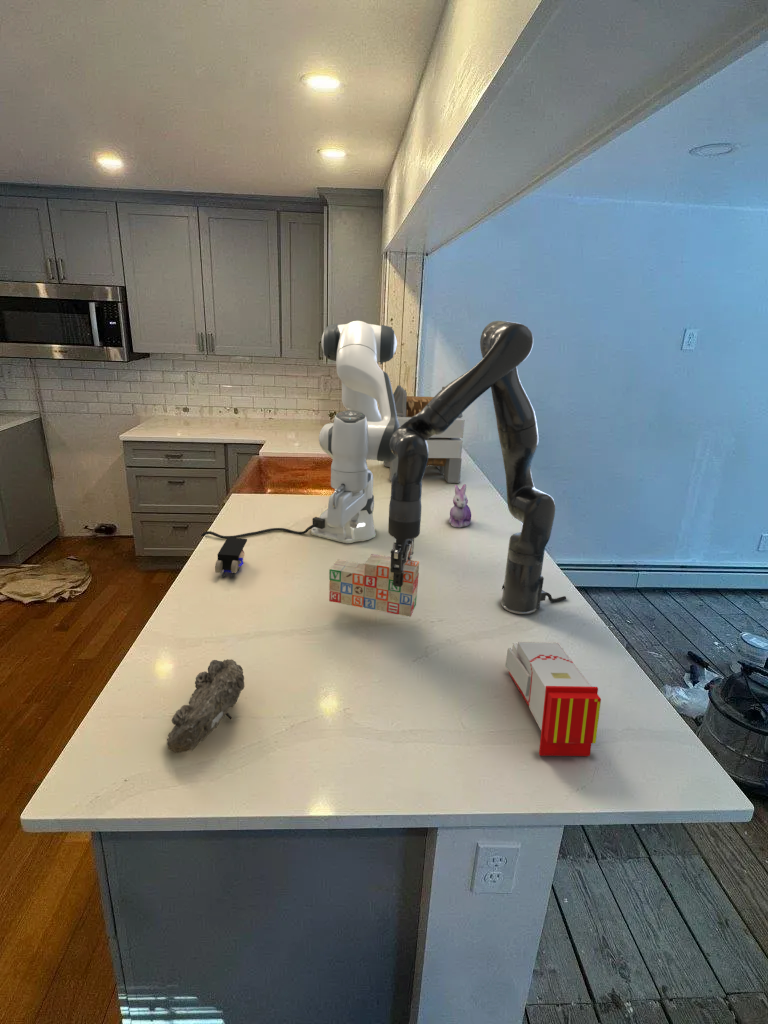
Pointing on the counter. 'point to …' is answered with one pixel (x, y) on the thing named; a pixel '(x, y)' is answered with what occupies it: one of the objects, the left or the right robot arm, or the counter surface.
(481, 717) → the counter surface
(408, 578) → the stack of blocks
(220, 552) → the black wheeled block
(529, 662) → the toy
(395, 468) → the grey storage crate
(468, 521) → the figurine
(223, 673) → the fossil
